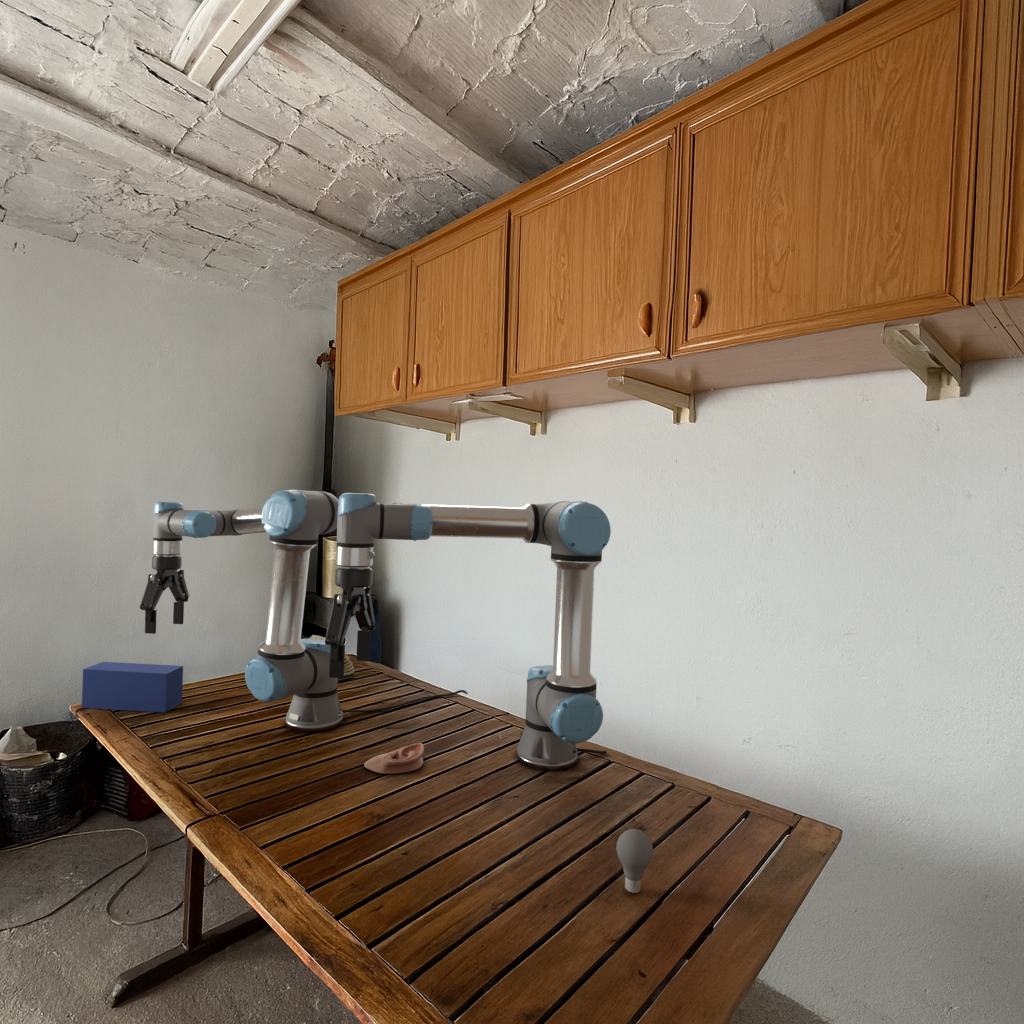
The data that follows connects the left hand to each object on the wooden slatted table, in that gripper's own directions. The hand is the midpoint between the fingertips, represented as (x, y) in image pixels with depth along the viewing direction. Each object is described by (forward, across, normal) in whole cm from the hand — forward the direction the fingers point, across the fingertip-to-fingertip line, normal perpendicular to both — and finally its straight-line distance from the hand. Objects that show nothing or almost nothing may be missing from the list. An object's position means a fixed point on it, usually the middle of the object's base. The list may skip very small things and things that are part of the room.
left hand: (164, 628), depth 183 cm
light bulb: (+23, +73, +125) cm, 146 cm away
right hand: (-5, +48, +69) cm, 84 cm away
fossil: (+23, -36, +36) cm, 56 cm away
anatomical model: (+23, +29, +75) cm, 84 cm away
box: (+23, 0, -9) cm, 24 cm away
